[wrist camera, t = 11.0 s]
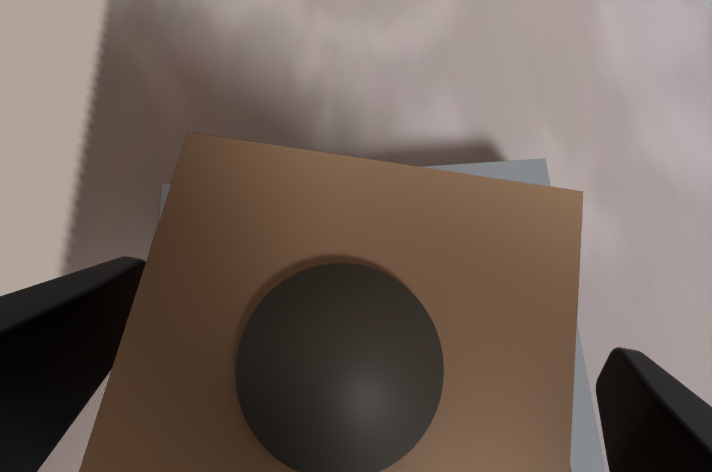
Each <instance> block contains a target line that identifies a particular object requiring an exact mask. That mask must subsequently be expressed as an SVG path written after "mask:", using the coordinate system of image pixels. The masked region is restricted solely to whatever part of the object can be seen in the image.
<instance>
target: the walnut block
mask: <svg viewBox="0 0 712 472" xmlns="http://www.w3.org/2000/svg"><path fill="white" fill-rule="evenodd" d="M582 207H583V191H576V190H570V189H563V188H557V187H550V186H543V185H537V184H530V183H524V182H517V181H510V180H504V179H497V178H490V177H484V176H477V175H471V174H464V173H457V172H451V171H444V170H438V169H431V168H424V167H418V166H411V165H405V164H398V163H391V162H385V161H378V160H372V159H365V158H358V157H352V156H345V155H339V154H332V153H325V152H319V151H312V150H305V149H299V148H292V147H286V146H279V145H272V144H266V143H259V142H253V141H246V140H239V139H233V138H226V137H220V136H213V135H206V134H200V133H193V132H188V133H187V136H186V139H185V142H184V145H183V148H182V151H181V155H180V158H179V161H178V164H177V167H176V170H175V173H174V176H173V180H172V183H171V186H170V189H169V192H168V195H167V198H166V201H165V205H164V208H163V211H162V214H161V217H160V220H159V223H158V226H157V230H156V233H155V236H154V239H153V242H152V245H151V248H150V251H149V255H148V258H147V261H146V264H145V267H144V270H143V273H142V276H141V280H140V283H139V286H138V289H137V292H136V295H135V298H134V301H133V305H132V308H131V311H130V314H129V317H128V320H127V323H126V326H125V330H124V333H123V336H122V339H121V342H120V345H119V348H118V352H117V355H116V358H115V361H114V364H113V367H112V370H111V373H110V377H109V380H108V383H107V386H106V389H105V392H104V395H103V398H102V402H101V405H100V408H99V411H98V414H97V417H96V420H95V423H94V427H93V430H92V433H91V436H90V439H89V442H88V445H87V448H86V452H85V455H84V458H83V461H82V464H81V467H80V470H79V472H570V454H571V433H572V413H573V392H574V371H575V351H576V330H577V310H578V289H579V268H580V248H581V227H582Z"/></svg>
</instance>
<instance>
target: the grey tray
mask: <svg viewBox="0 0 712 472" xmlns="http://www.w3.org/2000/svg"><path fill="white" fill-rule="evenodd" d="M424 168H431V169H438V170H444V171H451V172H457V173H464V174H471V175H477V176H484V177H490V178H497V179H504V180H510V181H517V182H524V183H530V184H537V185H543V186H550V181H549V175H548V170H547V165H546V160H545V158H543V159H528V160H513V161H498V162H483V163H469V164H454V165H439V166H424ZM170 186H171V183H169V184H162V188H161V202H160V216H159V220H160V217H161V214H162V211H163V208H164V205H165V201H166V198H167V195H168V192H169V189H170ZM550 187H551V186H550ZM570 472H606V471H605V466H604V461H603V456H602V450H601V445H600V440H599V435H598V430H597V424H596V419H595V414H594V409H593V404H592V398H591V393H590V388H589V383H588V378H587V373H586V367H585V362H584V357H583V352H582V347H581V341H580V336H579V331H578V326H577V330H576V351H575V371H574V392H573V413H572V433H571V454H570Z"/></svg>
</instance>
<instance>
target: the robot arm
mask: <svg viewBox="0 0 712 472" xmlns="http://www.w3.org/2000/svg"><path fill="white" fill-rule="evenodd" d="M145 264H146V262H145V261H144V260H142V259H138V258H132V257H120V258H117V259H114V260H111V261H108V262H105V263H102V264H99V265H96V266H93V267H90V268H86V269H83V270H80V271H77V272H74V273H71V274H68V275H65V276H62V277H59V278H56V279H53V280H49V281H47V282H43V283H40V284H37V285H34V286H31V287H28V288H25V289H22V290H19V291H16V292H13V293H9V294H7V295H3V296H0V472H37V471H38V470H39V468H40V467H41V466H42V464H43V463H44V461H45V460H46V459H47V457H48V456H49V455H50V453H51V452H52V451H53V449H54V448H55V446H56V445H57V444H58V442H59V441H60V440H61V438H62V437H63V435H64V434H65V433H66V431H67V430H68V429H69V427H70V426H71V424H72V423H73V422H74V420H75V419H76V418H77V416H78V415H79V413H80V412H81V411H82V409H83V408H84V407H85V405H86V404H87V402H88V401H89V400H90V398H91V397H92V396H93V394H94V393H95V392H96V390H97V389H98V387H99V386H100V385H101V383H102V382H103V381H104V379H105V378H106V376H107V375H108V373H109V372H110V370H111V369H112V367H113V364H114V361H115V358H116V355H117V352H118V348H119V345H120V342H121V339H122V336H123V333H124V330H125V326H126V323H127V320H128V317H129V314H130V311H131V308H132V305H133V301H134V298H135V295H136V292H137V289H138V286H139V283H140V280H141V276H142V273H143V270H144V267H145ZM596 396H597V402H598V408H599V414H600V420H601V426H602V432H603V438H604V444H605V450H606V456H607V461H608V466H609V471H610V472H712V407H711V406H710V405H708V404H707V403H706V402H705V401H703V400H702V399H701V398H700V397H698V396H697V395H696V394H694V393H693V392H692V391H691V390H689V389H688V388H687V387H685V386H684V385H683V384H682V383H680V382H679V381H678V380H677V379H675V378H674V377H673V376H671V375H670V374H669V373H668V372H666V371H665V370H664V369H662V368H661V367H660V366H659V365H657V364H656V363H655V362H654V361H652V360H651V359H650V358H648V357H647V356H646V355H645V354H643V353H642V352H640V351H637V350H632V349H626V348H621V347H618V348H615V349H613V350H612V351H611V353H610V355H609V357H608V359H607V361H606V363H605V365H604V367H603V369H602V371H601V373H600V375H599V377H598V379H597V382H596Z"/></svg>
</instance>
